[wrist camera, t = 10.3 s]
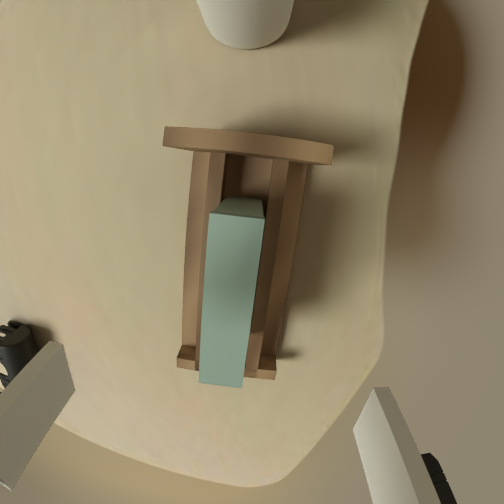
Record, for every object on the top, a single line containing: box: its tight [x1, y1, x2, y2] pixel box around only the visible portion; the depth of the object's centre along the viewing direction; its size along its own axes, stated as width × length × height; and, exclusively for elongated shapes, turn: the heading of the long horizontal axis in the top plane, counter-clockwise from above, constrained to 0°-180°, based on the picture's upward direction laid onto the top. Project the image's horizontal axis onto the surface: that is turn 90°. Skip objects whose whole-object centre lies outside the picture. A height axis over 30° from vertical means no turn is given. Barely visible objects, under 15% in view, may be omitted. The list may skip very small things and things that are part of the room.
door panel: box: [199, 196, 265, 388], centre depth 23 cm, size 3×12×10 cm, turn 173°
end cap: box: [0, 321, 37, 388], centre depth 31 cm, size 10×7×7 cm
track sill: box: [163, 127, 334, 380], centre depth 24 cm, size 10×22×10 cm, turn 173°
